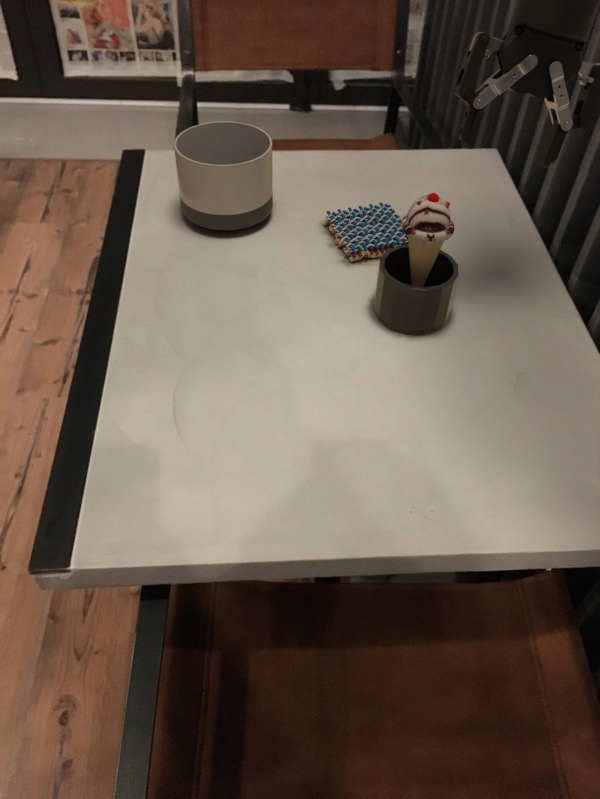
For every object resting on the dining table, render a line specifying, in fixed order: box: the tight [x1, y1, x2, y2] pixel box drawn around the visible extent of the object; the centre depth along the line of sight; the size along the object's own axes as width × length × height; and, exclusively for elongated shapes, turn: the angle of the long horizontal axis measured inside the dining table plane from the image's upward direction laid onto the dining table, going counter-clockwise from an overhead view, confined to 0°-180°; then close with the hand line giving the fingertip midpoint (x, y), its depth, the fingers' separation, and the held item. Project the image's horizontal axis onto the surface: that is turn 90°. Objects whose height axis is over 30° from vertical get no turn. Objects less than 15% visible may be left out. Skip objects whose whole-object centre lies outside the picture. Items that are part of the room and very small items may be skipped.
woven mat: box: [323, 202, 409, 263], centre depth 93 cm, size 10×11×2 cm
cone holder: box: [373, 244, 460, 336], centre depth 80 cm, size 9×9×6 cm
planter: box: [173, 120, 274, 231], centre depth 93 cm, size 13×13×10 cm
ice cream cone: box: [401, 192, 455, 287], centre depth 77 cm, size 6×6×15 cm
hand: (504, 156), depth 72 cm, fingers open, 8 cm apart
